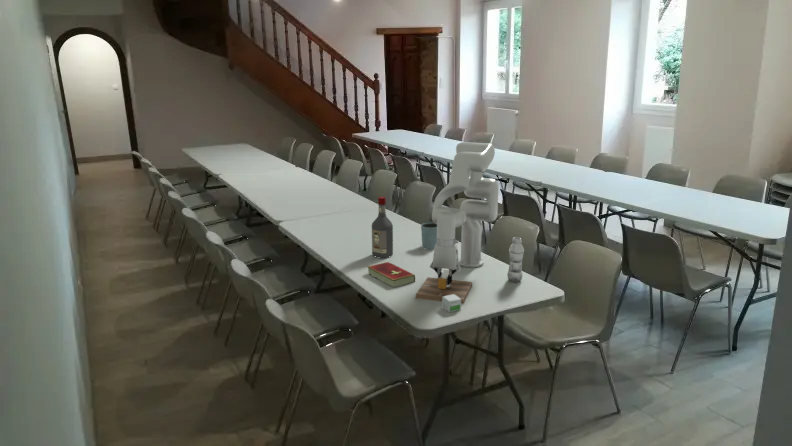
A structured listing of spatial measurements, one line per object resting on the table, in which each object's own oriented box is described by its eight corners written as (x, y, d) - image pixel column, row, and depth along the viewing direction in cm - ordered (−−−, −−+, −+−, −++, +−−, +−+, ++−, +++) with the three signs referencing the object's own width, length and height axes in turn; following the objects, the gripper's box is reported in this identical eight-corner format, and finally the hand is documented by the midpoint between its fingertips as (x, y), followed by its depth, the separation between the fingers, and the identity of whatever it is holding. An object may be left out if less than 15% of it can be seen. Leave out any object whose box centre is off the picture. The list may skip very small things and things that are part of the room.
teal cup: (419, 249, 306) (419, 227, 302) (422, 243, 315) (422, 221, 312) (439, 250, 304) (439, 228, 301) (440, 244, 314) (441, 222, 310)
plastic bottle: (512, 277, 266) (514, 234, 261) (525, 280, 262) (527, 238, 256) (504, 280, 262) (506, 237, 257) (516, 284, 257) (519, 241, 252)
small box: (448, 312, 230) (449, 301, 228) (441, 307, 235) (441, 295, 233) (461, 310, 232) (461, 298, 231) (453, 304, 237) (454, 293, 236)
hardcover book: (388, 269, 278) (388, 261, 277) (415, 282, 261) (415, 273, 260) (367, 274, 271) (367, 265, 270) (393, 288, 255) (393, 279, 254)
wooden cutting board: (427, 281, 261) (427, 276, 261) (472, 286, 256) (472, 281, 255) (415, 298, 243) (415, 293, 243) (463, 303, 237) (463, 299, 237)
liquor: (380, 251, 302) (380, 194, 294) (395, 254, 297) (394, 197, 289) (369, 256, 295) (368, 198, 287) (384, 259, 290) (383, 200, 282)
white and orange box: (442, 282, 254) (442, 269, 252) (452, 283, 253) (452, 270, 251) (436, 291, 244) (436, 278, 242) (446, 292, 243) (447, 279, 241)
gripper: (467, 241, 244) (465, 282, 249) (428, 237, 249) (428, 278, 254) (463, 246, 238) (462, 288, 243) (424, 242, 242) (423, 284, 247)
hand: (444, 282), depth 248 cm, fingers closed on white and orange box, 3 cm apart
